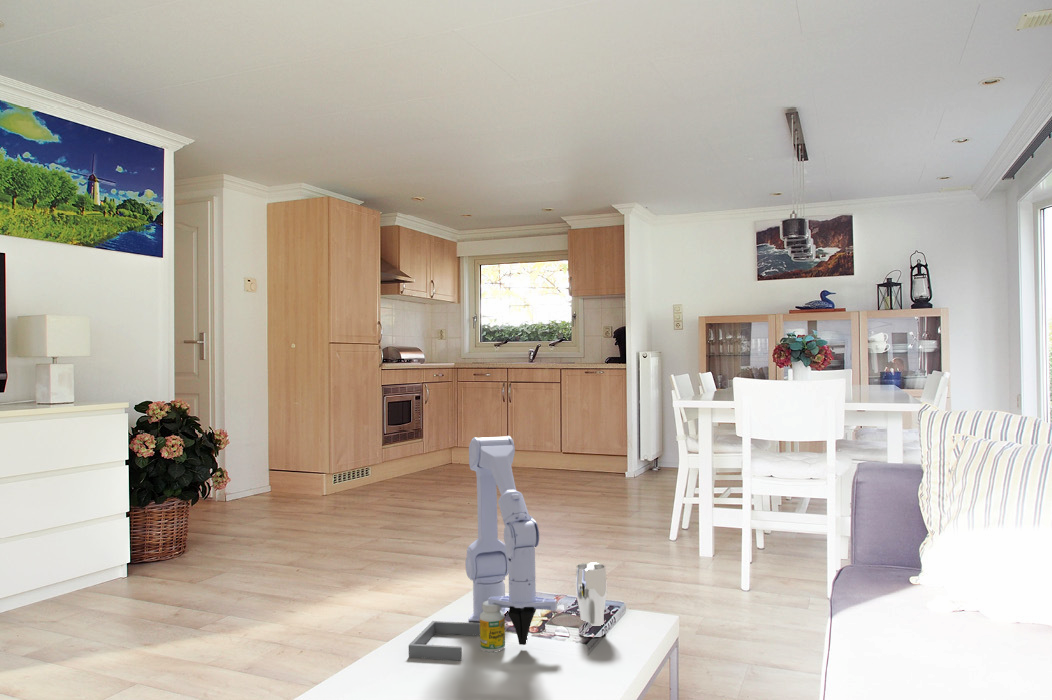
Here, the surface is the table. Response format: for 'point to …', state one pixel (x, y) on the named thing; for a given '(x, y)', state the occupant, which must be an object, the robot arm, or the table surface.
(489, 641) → the supplement bottle
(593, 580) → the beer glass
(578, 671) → the table surface
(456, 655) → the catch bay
